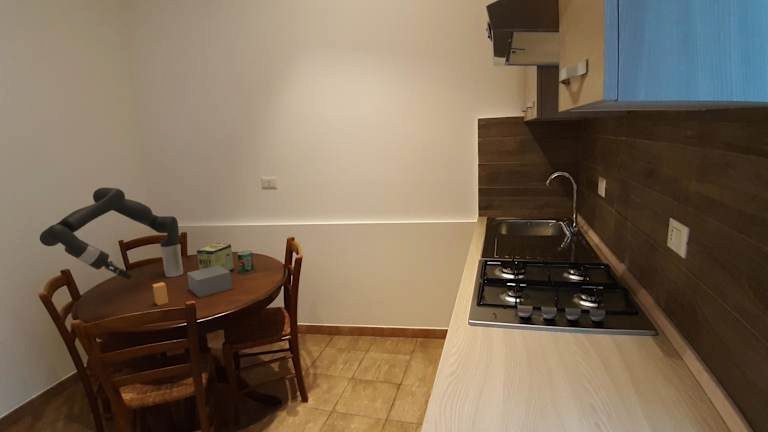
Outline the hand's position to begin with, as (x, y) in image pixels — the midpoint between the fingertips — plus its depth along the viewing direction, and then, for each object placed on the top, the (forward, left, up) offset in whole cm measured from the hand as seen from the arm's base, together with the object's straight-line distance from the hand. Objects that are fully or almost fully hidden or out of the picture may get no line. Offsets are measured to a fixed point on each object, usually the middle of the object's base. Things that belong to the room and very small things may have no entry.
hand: (128, 275), depth 195 cm
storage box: (0, +35, -17) cm, 39 cm away
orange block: (0, +12, -16) cm, 20 cm away
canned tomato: (-12, +60, -17) cm, 63 cm away
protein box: (-21, +47, -17) cm, 54 cm away
